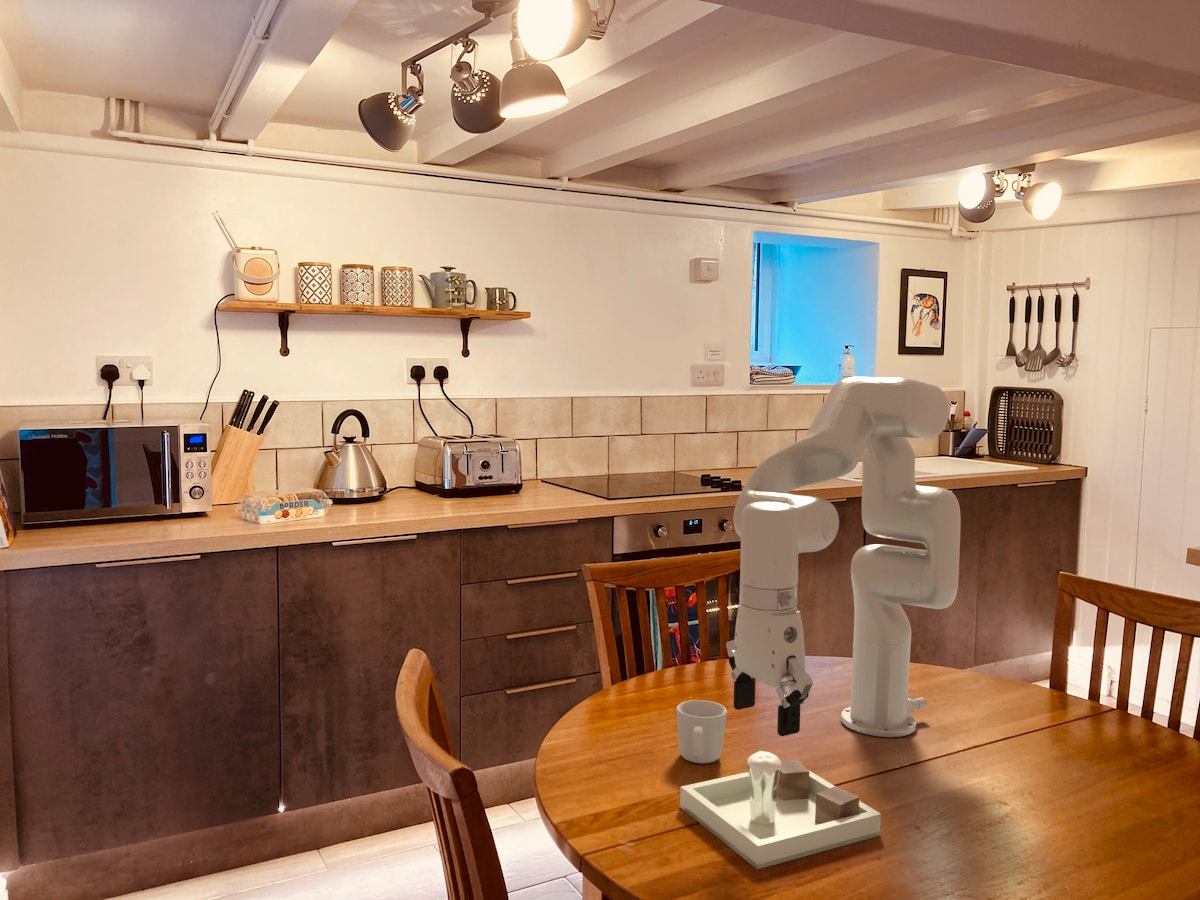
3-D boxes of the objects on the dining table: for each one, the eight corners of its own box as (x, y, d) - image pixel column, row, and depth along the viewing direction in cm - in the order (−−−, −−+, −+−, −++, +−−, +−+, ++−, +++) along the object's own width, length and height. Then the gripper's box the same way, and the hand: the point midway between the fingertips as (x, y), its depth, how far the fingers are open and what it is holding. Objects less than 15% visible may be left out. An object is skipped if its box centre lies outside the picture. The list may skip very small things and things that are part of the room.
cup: (722, 778, 141) (724, 726, 141) (669, 772, 143) (671, 721, 142) (727, 750, 152) (728, 701, 151) (678, 745, 153) (679, 697, 153)
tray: (793, 781, 141) (794, 761, 140) (880, 835, 125) (881, 813, 125) (680, 807, 132) (680, 786, 131) (757, 869, 116) (758, 846, 115)
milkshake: (736, 812, 129) (738, 742, 128) (774, 811, 130) (777, 741, 129) (744, 828, 125) (746, 755, 124) (783, 827, 125) (786, 755, 124)
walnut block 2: (834, 814, 129) (835, 786, 129) (858, 825, 126) (859, 797, 126) (815, 822, 127) (816, 793, 126) (838, 834, 124) (840, 805, 123)
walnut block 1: (796, 786, 138) (797, 759, 137) (808, 798, 134) (809, 771, 133) (771, 788, 137) (772, 761, 136) (781, 800, 133) (783, 773, 133)
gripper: (834, 609, 118) (830, 739, 120) (752, 578, 134) (750, 694, 135) (786, 616, 115) (783, 750, 117) (708, 584, 130) (706, 703, 132)
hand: (765, 720), depth 126 cm, fingers open, 9 cm apart
